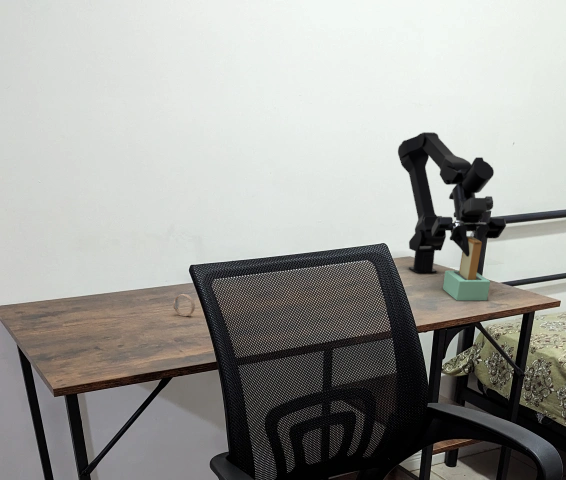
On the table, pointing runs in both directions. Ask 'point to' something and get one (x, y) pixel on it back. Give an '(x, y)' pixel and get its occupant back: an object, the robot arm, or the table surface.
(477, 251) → the toast
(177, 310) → the beige ring
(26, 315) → the table surface
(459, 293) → the toaster
